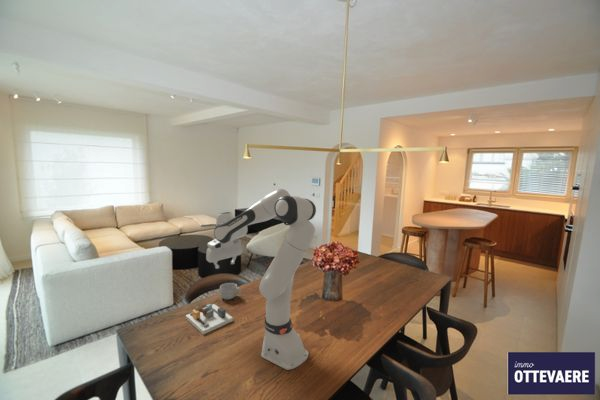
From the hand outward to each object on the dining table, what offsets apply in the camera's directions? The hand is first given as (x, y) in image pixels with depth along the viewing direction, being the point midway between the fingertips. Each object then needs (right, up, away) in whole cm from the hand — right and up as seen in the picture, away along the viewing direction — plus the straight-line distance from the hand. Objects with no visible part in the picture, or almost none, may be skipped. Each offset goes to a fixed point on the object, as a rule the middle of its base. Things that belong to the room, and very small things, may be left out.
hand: (225, 266), depth 145 cm
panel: (-9, -29, -1) cm, 30 cm away
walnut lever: (-9, -26, 0) cm, 27 cm away
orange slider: (-15, -27, -2) cm, 31 cm away
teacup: (-3, -27, +24) cm, 36 cm away
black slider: (-2, -27, 0) cm, 27 cm away
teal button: (-11, -26, +7) cm, 29 cm away
